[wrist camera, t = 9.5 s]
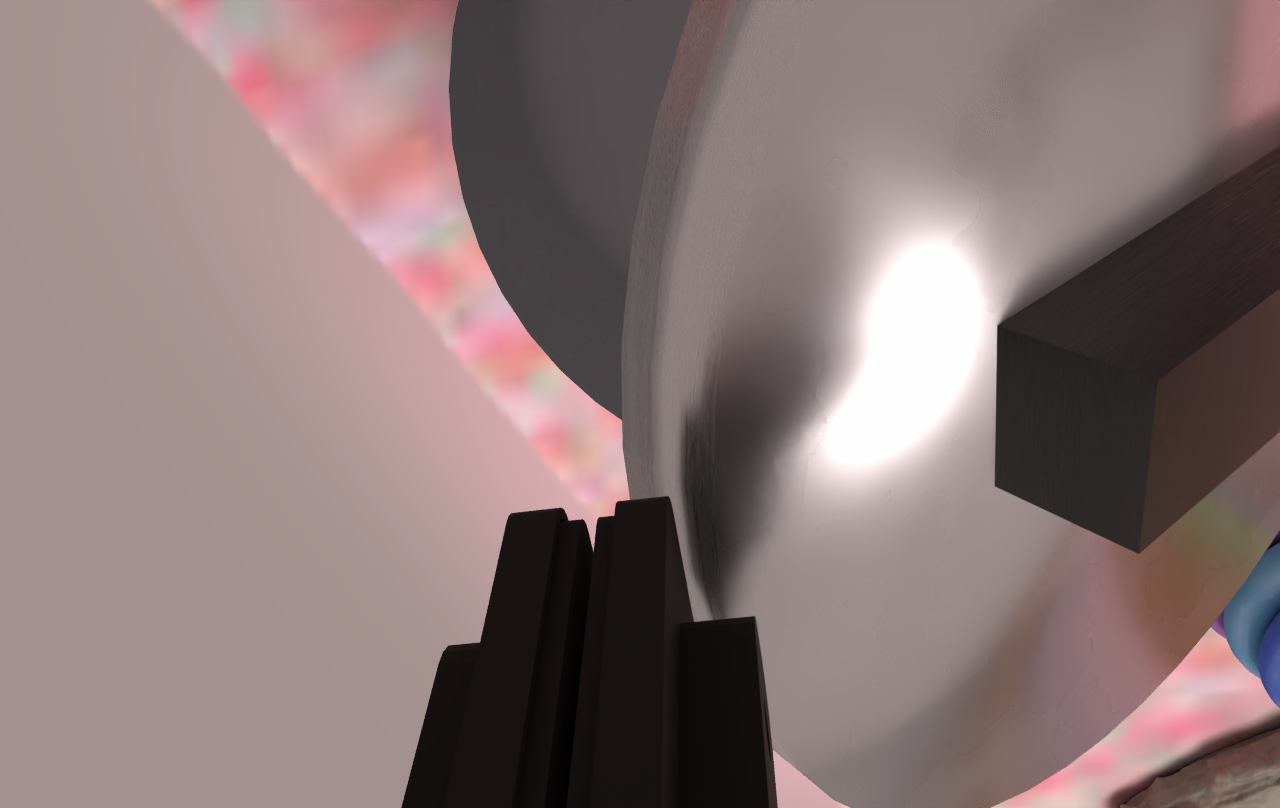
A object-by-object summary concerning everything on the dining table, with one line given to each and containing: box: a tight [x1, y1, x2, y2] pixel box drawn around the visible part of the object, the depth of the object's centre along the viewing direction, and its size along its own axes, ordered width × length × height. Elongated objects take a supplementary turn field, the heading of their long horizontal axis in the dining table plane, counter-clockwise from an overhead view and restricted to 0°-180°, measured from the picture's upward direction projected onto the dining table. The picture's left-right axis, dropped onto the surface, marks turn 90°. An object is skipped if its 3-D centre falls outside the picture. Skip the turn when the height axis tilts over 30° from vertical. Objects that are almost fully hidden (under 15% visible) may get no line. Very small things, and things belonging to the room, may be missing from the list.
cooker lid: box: [621, 0, 1280, 808], centre depth 15 cm, size 18×18×4 cm
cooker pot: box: [449, 0, 693, 420], centre depth 26 cm, size 24×19×12 cm
